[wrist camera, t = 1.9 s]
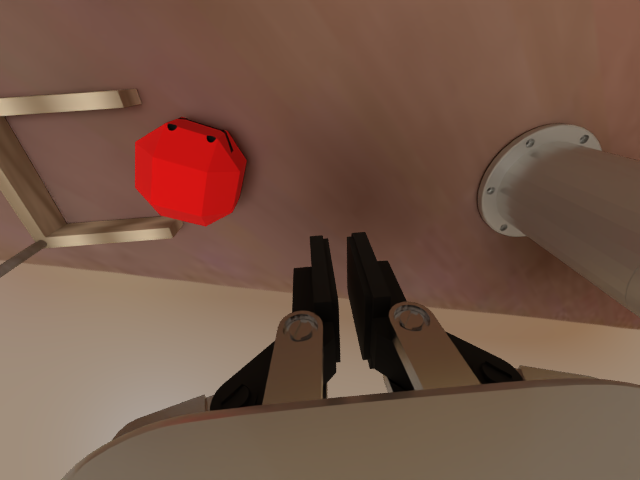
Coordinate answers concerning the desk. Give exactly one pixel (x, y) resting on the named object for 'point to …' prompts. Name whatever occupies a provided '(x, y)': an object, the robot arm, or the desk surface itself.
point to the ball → (189, 171)
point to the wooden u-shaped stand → (33, 198)
